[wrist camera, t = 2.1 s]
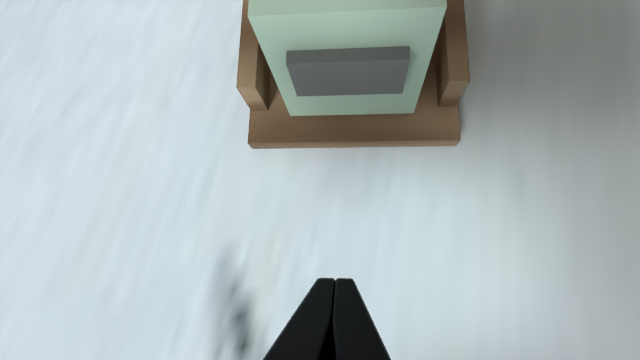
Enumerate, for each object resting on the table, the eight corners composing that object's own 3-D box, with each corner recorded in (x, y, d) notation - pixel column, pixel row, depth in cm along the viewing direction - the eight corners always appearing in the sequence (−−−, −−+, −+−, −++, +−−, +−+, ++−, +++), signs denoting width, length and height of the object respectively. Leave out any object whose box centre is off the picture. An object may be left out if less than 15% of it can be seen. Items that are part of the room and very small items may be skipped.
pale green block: (414, 123, 22) (447, 21, 14) (290, 125, 23) (246, 30, 14) (411, 65, 23) (442, -66, 14) (292, 69, 24) (252, -53, 15)
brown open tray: (456, 145, 23) (481, 109, 18) (252, 148, 24) (225, 115, 19) (444, -25, 26) (463, -95, 21) (262, -14, 27) (241, -78, 22)
